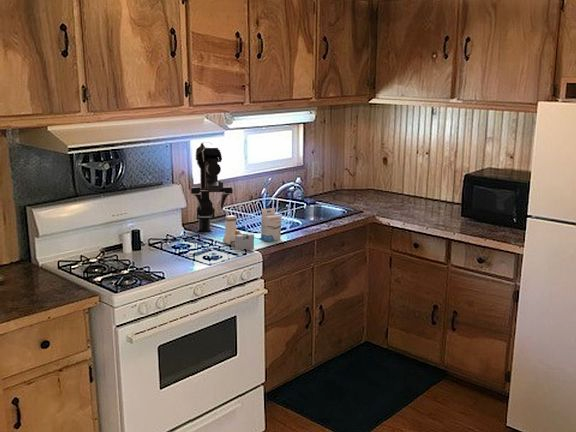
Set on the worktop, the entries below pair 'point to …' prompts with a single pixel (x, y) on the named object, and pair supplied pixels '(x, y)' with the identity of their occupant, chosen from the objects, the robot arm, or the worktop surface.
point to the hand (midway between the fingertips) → (211, 209)
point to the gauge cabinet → (244, 242)
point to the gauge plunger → (240, 234)
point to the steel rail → (231, 242)
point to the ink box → (270, 225)
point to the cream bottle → (230, 229)
